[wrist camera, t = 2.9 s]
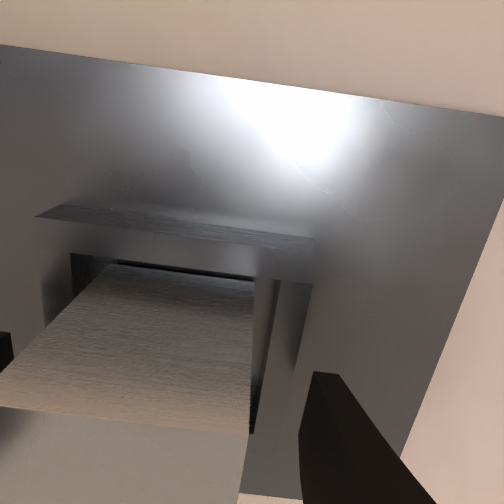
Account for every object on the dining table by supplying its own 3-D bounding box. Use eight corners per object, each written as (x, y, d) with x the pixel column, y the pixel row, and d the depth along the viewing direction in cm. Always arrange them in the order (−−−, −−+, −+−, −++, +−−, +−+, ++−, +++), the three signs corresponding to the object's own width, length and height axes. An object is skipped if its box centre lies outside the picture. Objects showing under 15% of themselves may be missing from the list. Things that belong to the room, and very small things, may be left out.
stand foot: (-22, 432, 14) (-78, 496, 12) (-104, 33, 9) (-233, 5, 7) (370, 478, 15) (391, 549, 12) (502, 120, 10) (582, 123, 7)
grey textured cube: (111, 391, 11) (8, 584, 7) (109, 263, 10) (-31, 402, 5) (236, 406, 11) (219, 607, 7) (254, 282, 10) (248, 436, 5)
